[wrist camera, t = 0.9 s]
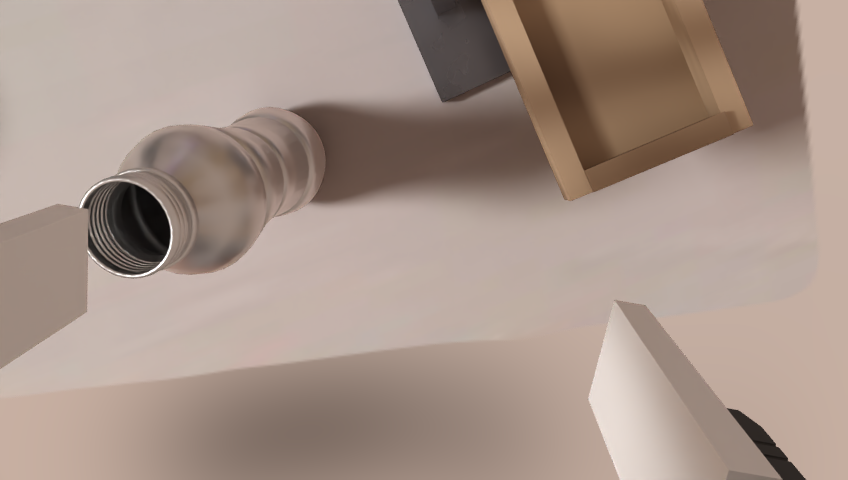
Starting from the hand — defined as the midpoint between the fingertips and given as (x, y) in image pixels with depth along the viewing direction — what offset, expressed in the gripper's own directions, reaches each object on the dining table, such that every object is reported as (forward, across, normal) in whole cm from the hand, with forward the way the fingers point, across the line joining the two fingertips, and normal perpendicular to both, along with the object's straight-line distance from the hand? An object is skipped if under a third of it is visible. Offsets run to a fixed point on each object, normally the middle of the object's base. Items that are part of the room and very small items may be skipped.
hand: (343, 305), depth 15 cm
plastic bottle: (+26, -8, -2) cm, 28 cm away
